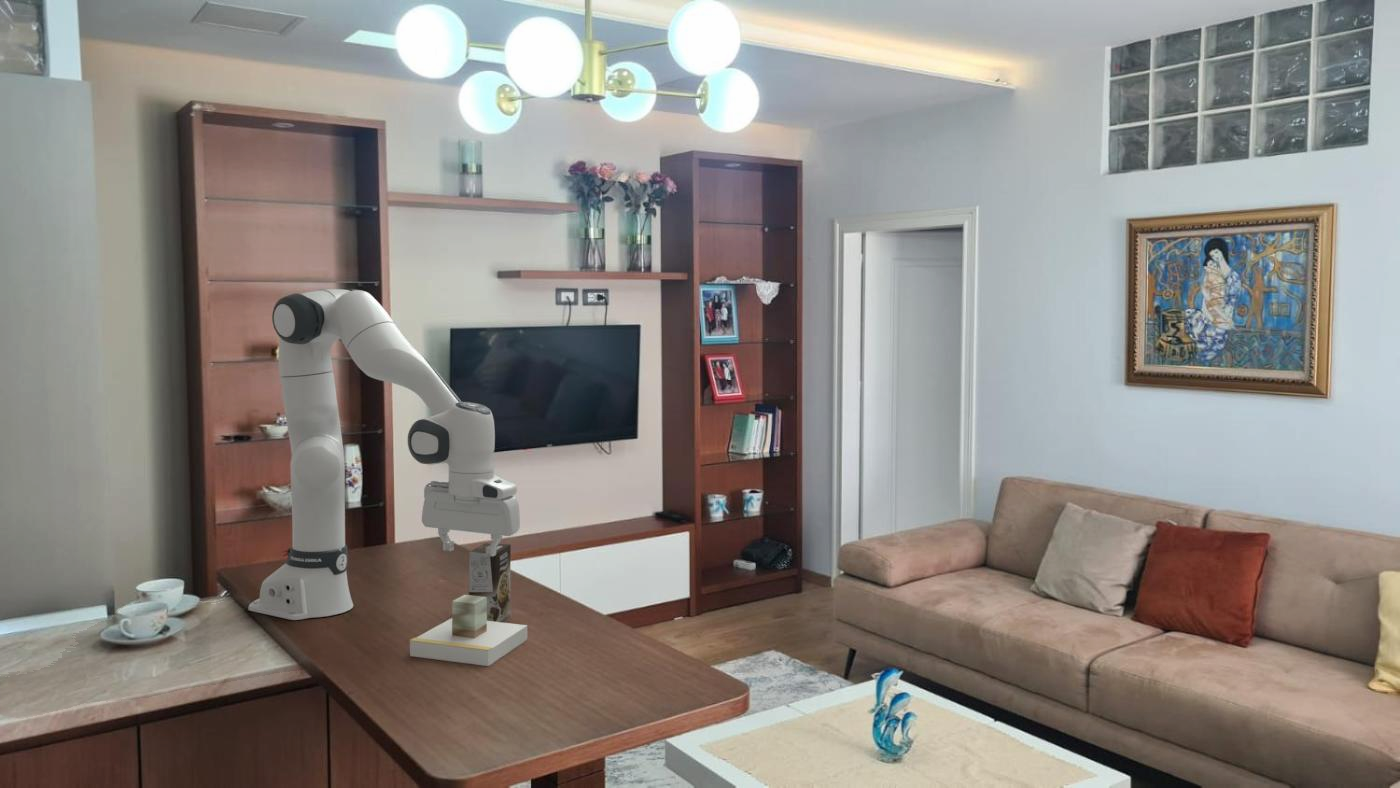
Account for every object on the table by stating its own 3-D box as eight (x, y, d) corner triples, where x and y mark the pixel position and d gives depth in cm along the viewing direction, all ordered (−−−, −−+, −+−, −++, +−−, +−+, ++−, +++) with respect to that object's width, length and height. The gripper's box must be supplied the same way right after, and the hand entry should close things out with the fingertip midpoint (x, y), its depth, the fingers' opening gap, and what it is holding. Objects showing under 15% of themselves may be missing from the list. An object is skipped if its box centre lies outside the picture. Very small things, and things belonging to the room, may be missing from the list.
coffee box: (495, 627, 229) (496, 553, 228) (467, 624, 231) (467, 551, 229) (511, 615, 238) (511, 543, 237) (484, 612, 239) (484, 541, 238)
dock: (410, 656, 210) (409, 640, 210) (453, 630, 226) (453, 615, 226) (488, 666, 205) (488, 649, 205) (527, 639, 221) (527, 624, 221)
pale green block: (452, 635, 214) (452, 601, 213) (464, 628, 218) (464, 594, 218) (474, 638, 212) (474, 603, 212) (486, 630, 217) (486, 597, 216)
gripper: (416, 482, 213) (415, 550, 214) (509, 491, 207) (508, 561, 208) (433, 477, 219) (431, 544, 220) (524, 486, 213) (522, 555, 214)
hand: (469, 553), depth 214 cm, fingers open, 8 cm apart
